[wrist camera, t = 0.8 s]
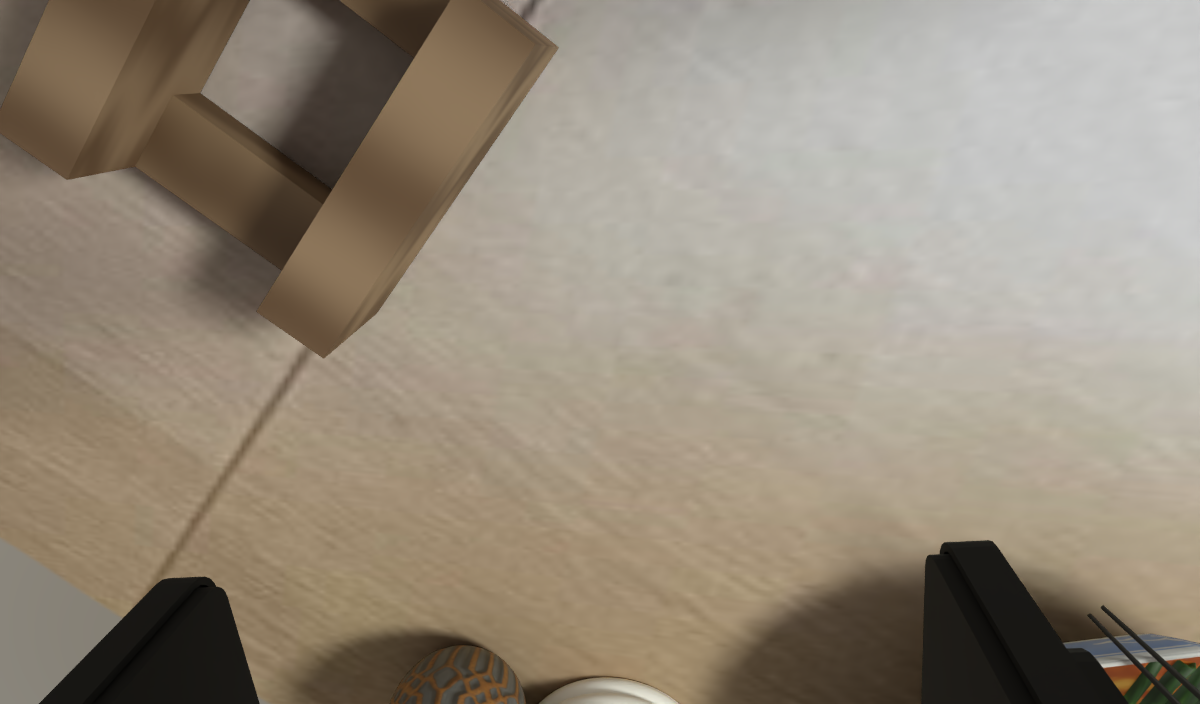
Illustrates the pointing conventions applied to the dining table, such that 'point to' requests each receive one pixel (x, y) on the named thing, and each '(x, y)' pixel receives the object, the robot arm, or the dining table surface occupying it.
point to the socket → (254, 167)
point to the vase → (460, 679)
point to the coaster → (607, 693)
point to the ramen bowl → (1147, 665)
